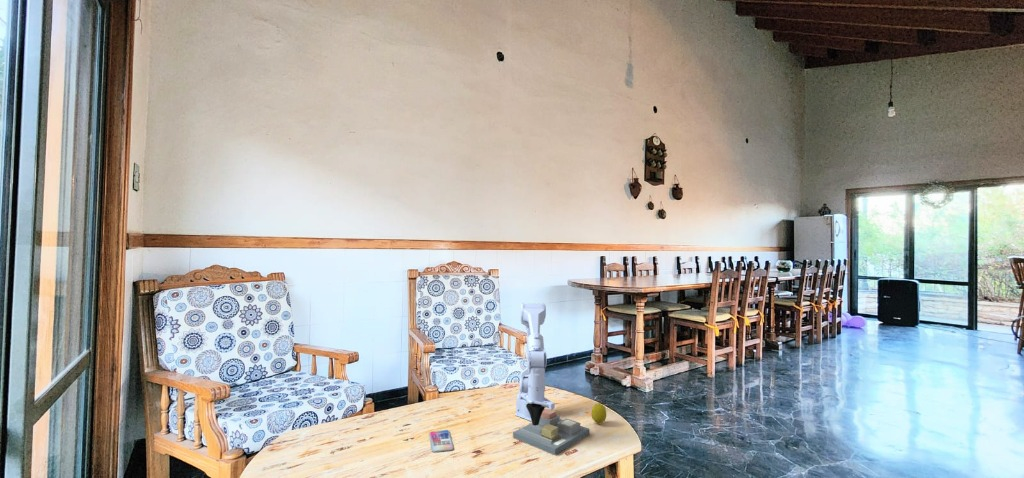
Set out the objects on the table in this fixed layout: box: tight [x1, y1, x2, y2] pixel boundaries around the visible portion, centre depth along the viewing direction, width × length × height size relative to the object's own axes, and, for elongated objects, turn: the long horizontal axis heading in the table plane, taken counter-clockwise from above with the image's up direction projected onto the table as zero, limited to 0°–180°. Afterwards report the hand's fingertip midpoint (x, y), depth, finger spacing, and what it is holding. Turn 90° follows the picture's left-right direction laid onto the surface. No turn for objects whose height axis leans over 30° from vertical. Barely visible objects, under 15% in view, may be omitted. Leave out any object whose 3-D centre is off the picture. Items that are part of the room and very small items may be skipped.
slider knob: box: [541, 424, 558, 441], centre depth 148 cm, size 4×4×4 cm
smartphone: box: [428, 429, 455, 454], centre depth 148 cm, size 7×1×15 cm
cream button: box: [561, 419, 577, 427], centre depth 155 cm, size 4×4×2 cm
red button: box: [541, 408, 557, 420], centre depth 161 cm, size 4×4×2 cm
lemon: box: [591, 402, 607, 425], centre depth 165 cm, size 6×6×8 cm
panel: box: [512, 414, 591, 456], centre depth 154 cm, size 18×21×4 cm
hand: (535, 424), depth 152 cm, fingers closed
